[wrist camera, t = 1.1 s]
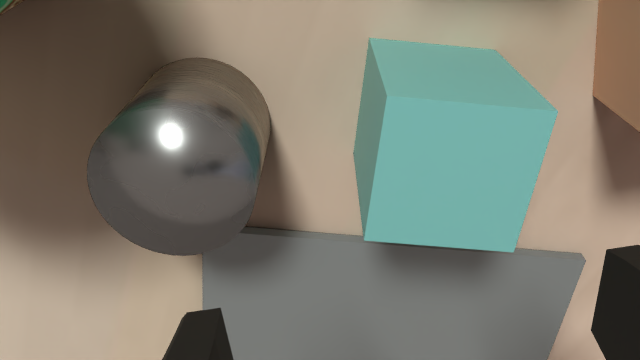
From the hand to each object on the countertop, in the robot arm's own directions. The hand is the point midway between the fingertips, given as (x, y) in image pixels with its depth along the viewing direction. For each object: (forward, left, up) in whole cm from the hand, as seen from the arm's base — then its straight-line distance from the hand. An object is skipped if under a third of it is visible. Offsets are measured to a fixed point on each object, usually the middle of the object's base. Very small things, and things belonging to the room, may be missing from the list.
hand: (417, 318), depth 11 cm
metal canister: (+6, +1, -12) cm, 13 cm away
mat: (-2, +14, -12) cm, 18 cm away
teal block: (-2, 0, -12) cm, 12 cm away
